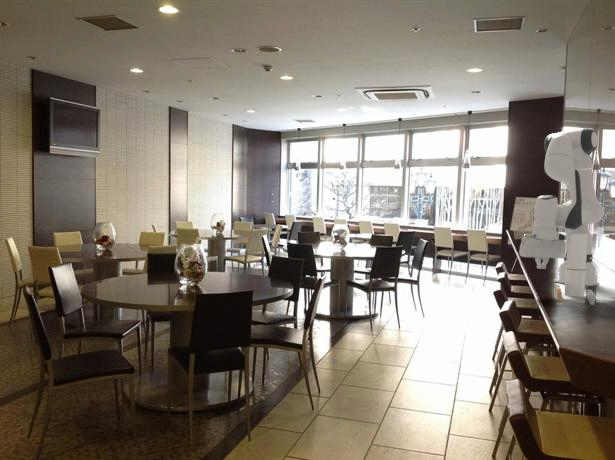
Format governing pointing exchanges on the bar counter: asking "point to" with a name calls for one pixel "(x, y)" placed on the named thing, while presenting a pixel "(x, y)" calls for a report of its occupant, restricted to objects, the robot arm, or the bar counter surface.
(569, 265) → the white tall box
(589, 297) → the vise fixed jaw
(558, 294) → the sliding jaw
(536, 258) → the robot arm
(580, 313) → the bar counter surface
